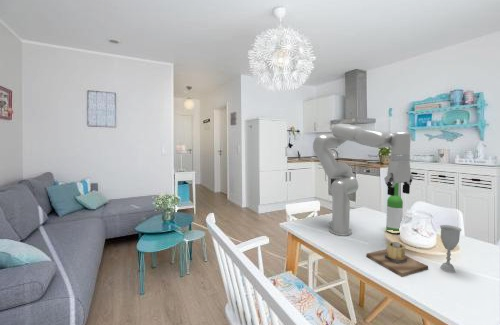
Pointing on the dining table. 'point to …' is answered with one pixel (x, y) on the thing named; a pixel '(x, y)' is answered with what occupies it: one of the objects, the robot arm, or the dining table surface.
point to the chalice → (449, 244)
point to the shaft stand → (397, 262)
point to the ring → (395, 251)
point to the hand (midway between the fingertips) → (398, 194)
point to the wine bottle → (394, 210)
